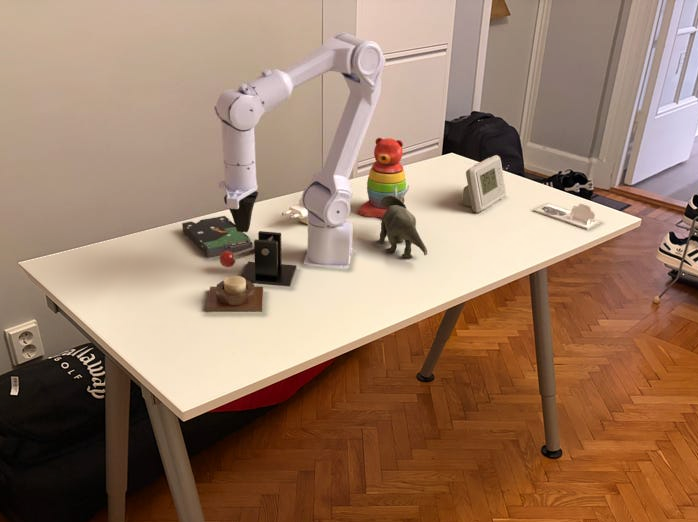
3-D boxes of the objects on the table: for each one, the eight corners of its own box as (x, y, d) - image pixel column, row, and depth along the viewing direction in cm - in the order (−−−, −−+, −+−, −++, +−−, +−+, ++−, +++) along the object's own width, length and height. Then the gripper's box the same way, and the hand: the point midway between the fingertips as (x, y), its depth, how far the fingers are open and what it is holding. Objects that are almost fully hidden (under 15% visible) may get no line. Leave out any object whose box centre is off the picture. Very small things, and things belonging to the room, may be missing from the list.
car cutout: (600, 222, 178) (604, 205, 176) (587, 229, 174) (591, 212, 171) (547, 204, 186) (551, 188, 184) (534, 211, 182) (537, 194, 180)
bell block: (263, 293, 139) (262, 277, 137) (262, 314, 132) (261, 297, 130) (210, 293, 138) (209, 276, 136) (207, 314, 131) (205, 297, 129)
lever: (222, 271, 143) (214, 257, 141) (226, 264, 145) (218, 251, 144) (276, 253, 140) (269, 239, 138) (279, 247, 142) (272, 232, 141)
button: (246, 284, 135) (246, 275, 134) (245, 294, 132) (245, 285, 131) (225, 284, 135) (224, 275, 134) (223, 294, 132) (223, 285, 131)
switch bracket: (239, 284, 141) (237, 243, 136) (248, 266, 148) (246, 226, 143) (290, 288, 141) (289, 247, 136) (296, 270, 148) (296, 230, 143)
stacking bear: (355, 214, 174) (359, 141, 164) (371, 201, 182) (375, 130, 172) (397, 223, 171) (403, 149, 161) (411, 209, 179) (418, 137, 169)
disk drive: (182, 234, 159) (208, 260, 149) (180, 223, 158) (207, 248, 147) (225, 226, 164) (254, 250, 154) (224, 214, 163) (253, 238, 152)
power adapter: (293, 233, 163) (293, 208, 160) (279, 226, 165) (278, 202, 162) (328, 220, 170) (329, 197, 167) (314, 214, 172) (314, 191, 169)
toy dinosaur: (428, 271, 151) (434, 221, 144) (389, 273, 149) (393, 222, 143) (402, 228, 168) (406, 182, 162) (367, 230, 167) (370, 183, 160)
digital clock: (476, 215, 177) (482, 174, 171) (448, 204, 182) (453, 163, 177) (515, 201, 187) (522, 161, 181) (487, 191, 192) (494, 151, 186)
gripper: (226, 146, 136) (230, 214, 144) (207, 172, 124) (212, 244, 132) (263, 149, 136) (265, 216, 144) (248, 175, 124) (251, 247, 132)
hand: (242, 230), depth 138 cm, fingers closed
